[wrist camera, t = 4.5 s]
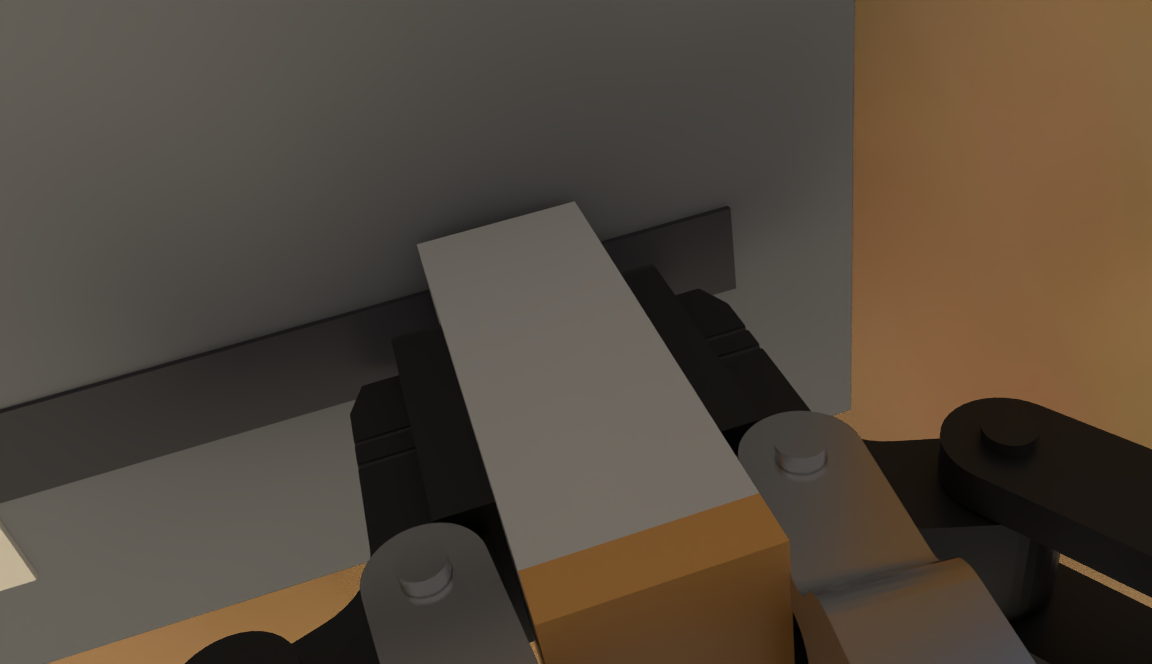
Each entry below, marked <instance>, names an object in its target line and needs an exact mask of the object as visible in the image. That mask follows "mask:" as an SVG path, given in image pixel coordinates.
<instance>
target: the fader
mask: <svg viewBox="0 0 1152 664" xmlns="http://www.w3.org/2000/svg"><path fill="white" fill-rule="evenodd" d="M417 247H418V251H419V254H420V258H421V261H422V265H423V268H424V272H425V275H426V279H427V283H428V286H429V290H430V293H431V297H432V300H433V304H434V307H435V311H436V314H437V318H438V321H439V324H441V327H442V331H443V334H444V337H445V340H446V344H447V347H448V350H449V353H450V357H451V360H452V363H453V366H454V369H455V373H456V376H457V379H458V382H459V386H460V389H461V392H462V395H463V399H464V402H465V405H466V408H467V412H468V415H469V418H470V421H471V425H472V428H473V431H474V434H475V438H476V441H477V444H478V447H479V450H480V454H481V457H482V460H483V463H484V467H485V470H486V473H487V476H488V480H489V483H490V486H491V489H492V493H493V496H494V499H495V502H496V506H497V509H498V513H499V517H500V520H501V524H502V527H503V531H504V534H505V538H506V542H507V545H508V549H509V552H510V556H511V559H512V563H513V567H514V570H515V574H516V577H517V581H518V584H519V588H520V591H521V595H522V599H523V602H524V606H525V609H526V613H527V616H528V620H529V624H530V627H531V631H532V634H533V638H534V643H535V647H536V650H537V653H538V657H539V660H540V663H541V664H795V659H794V635H793V611H792V608H791V594H790V573H791V562H790V541H789V539H788V537H787V536H786V534H785V533H784V531H783V530H782V528H781V526H780V525H779V523H778V522H777V520H776V518H775V517H774V515H773V514H772V512H771V511H770V509H769V507H768V506H767V504H766V503H765V501H764V499H763V498H762V496H761V495H760V493H759V492H758V490H757V488H756V487H755V485H754V484H753V482H752V481H751V479H750V477H749V476H748V474H747V473H746V471H745V469H744V468H743V466H742V465H741V463H740V462H739V460H738V458H737V457H736V455H735V454H734V452H733V451H732V449H731V447H730V446H729V444H728V443H727V441H726V439H725V438H724V436H723V435H722V433H721V432H720V430H719V428H718V427H717V425H716V424H715V422H714V421H713V419H712V417H711V416H710V414H709V413H708V411H707V409H706V408H705V406H704V405H703V403H702V402H701V400H700V398H699V397H698V395H697V394H696V392H695V391H694V389H693V387H692V386H691V384H690V383H689V381H688V379H687V378H686V376H685V375H684V373H683V372H682V370H681V368H680V367H679V365H678V364H677V362H676V361H675V359H674V357H673V356H672V354H671V353H670V351H669V349H668V348H667V346H666V345H665V343H664V342H663V340H662V338H661V337H660V335H659V334H658V332H657V331H656V329H655V327H654V326H653V324H652V323H651V321H650V319H649V318H648V316H647V315H646V313H645V312H644V310H643V308H642V307H641V305H640V304H639V302H638V300H637V299H636V297H635V296H634V294H633V293H632V291H631V289H630V288H629V286H628V285H627V283H626V282H625V280H624V278H623V277H622V275H621V274H620V272H619V270H618V269H617V267H616V266H615V264H614V263H613V261H612V259H611V258H610V256H609V255H608V253H607V252H606V250H605V248H604V247H603V245H602V244H601V242H600V240H599V239H598V237H597V236H596V234H595V233H594V231H593V229H592V228H591V226H590V225H589V223H588V222H587V220H586V218H585V217H584V215H583V214H582V212H581V210H580V209H579V207H578V206H577V204H576V203H575V201H574V202H570V203H566V204H563V205H559V206H555V207H552V208H548V209H544V210H541V211H537V212H534V213H530V214H526V215H523V216H519V217H515V218H512V219H508V220H504V221H501V222H497V223H493V224H490V225H486V226H482V227H479V228H475V229H471V230H468V231H464V232H460V233H457V234H453V235H449V236H446V237H442V238H438V239H435V240H431V241H427V242H424V243H420V244H417Z"/></svg>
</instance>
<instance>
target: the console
mask: <svg viewBox="0 0 1152 664" xmlns="http://www.w3.org/2000/svg"><path fill="white" fill-rule="evenodd" d="M854 9H855V0H0V664H46V663H49V662H53V661H56V660H59V659H62V658H65V657H68V656H72V655H75V654H78V653H81V652H84V651H87V650H91V649H94V648H97V647H100V646H103V645H106V644H110V643H113V642H116V641H119V640H122V639H125V638H129V637H132V636H135V635H138V634H141V633H144V632H148V631H151V630H154V629H157V628H160V627H163V626H167V625H170V624H173V623H176V622H179V621H183V620H186V619H189V618H192V617H195V616H198V615H202V614H205V613H208V612H211V611H214V610H217V609H221V608H224V607H227V606H230V605H233V604H236V603H240V602H243V601H246V600H249V599H252V598H255V597H259V596H262V595H265V594H268V593H271V592H274V591H278V590H281V589H284V588H287V587H290V586H293V585H297V584H300V583H303V582H306V581H309V580H312V579H316V578H319V577H322V576H325V575H328V574H332V573H335V572H338V571H341V570H344V569H347V568H351V567H354V566H357V565H360V564H363V563H366V562H368V561H369V559H370V546H369V540H368V533H367V526H366V520H365V513H364V506H363V500H362V493H361V486H360V479H359V473H358V470H359V468H358V465H357V459H356V453H355V444H354V439H353V432H352V426H351V419H350V413H351V410H352V408H353V406H354V403H355V401H356V399H357V396H358V394H359V392H360V389H361V387H362V386H363V385H366V384H370V383H373V382H377V381H380V380H384V379H387V378H391V377H394V376H397V375H399V373H398V368H397V364H396V359H395V355H394V351H393V346H392V342H391V338H393V337H397V336H400V335H404V334H407V333H411V332H414V331H418V330H421V329H425V328H428V327H432V326H435V325H439V321H438V318H437V314H436V311H435V307H434V304H433V300H432V297H431V293H430V290H429V286H428V283H427V279H426V275H425V272H424V268H423V265H422V261H421V258H420V254H419V251H418V247H417V244H420V243H424V242H427V241H431V240H435V239H438V238H442V237H446V236H449V235H453V234H457V233H460V232H464V231H468V230H471V229H475V228H479V227H482V226H486V225H490V224H493V223H497V222H501V221H504V220H508V219H512V218H515V217H519V216H523V215H526V214H530V213H534V212H537V211H541V210H544V209H548V208H552V207H555V206H559V205H563V204H566V203H570V202H574V201H575V203H576V204H577V206H578V207H579V209H580V210H581V212H582V214H583V215H584V217H585V218H586V220H587V222H588V223H589V225H590V226H591V228H592V229H593V231H594V233H595V234H596V236H597V237H598V239H599V240H600V242H601V244H602V245H603V247H604V248H605V250H606V252H607V253H608V255H609V256H610V258H611V259H612V261H613V263H614V264H615V266H616V267H617V269H618V270H619V272H620V273H622V272H626V271H629V270H633V269H636V268H640V267H643V266H647V265H650V264H652V265H654V266H655V267H656V268H657V270H658V271H659V273H660V274H661V276H662V277H663V278H664V280H665V281H666V283H667V284H668V286H669V287H670V288H671V290H672V291H673V293H674V294H675V295H678V294H681V293H684V292H688V291H691V290H695V289H698V288H699V289H701V290H703V291H705V292H707V293H709V294H711V295H713V296H715V297H717V298H719V299H721V300H722V301H724V302H726V303H728V304H729V305H730V306H731V308H732V309H733V310H734V312H735V313H736V314H737V316H738V317H739V318H740V319H741V321H742V322H743V323H744V325H745V327H746V330H749V331H750V332H751V334H752V335H753V336H754V338H755V339H756V340H757V341H758V343H759V346H760V348H763V349H764V351H765V352H766V353H767V354H768V356H769V357H770V358H771V360H772V361H773V362H774V363H775V365H776V366H777V367H778V369H779V370H780V371H781V373H782V374H783V375H784V376H785V378H786V379H787V380H788V382H789V383H790V384H791V386H792V387H793V388H794V389H795V391H796V392H797V393H798V395H799V396H800V397H801V398H802V400H803V401H804V402H805V404H806V405H807V406H808V408H809V409H810V410H811V411H812V412H818V413H823V414H827V415H830V416H832V415H836V414H839V413H842V412H845V411H848V410H851V325H852V219H853V114H854Z"/></svg>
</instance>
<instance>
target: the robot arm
mask: <svg viewBox="0 0 1152 664" xmlns="http://www.w3.org/2000/svg"><path fill="white" fill-rule="evenodd" d="M620 274H621V275H622V277H623V278H624V280H625V282H626V283H627V285H628V286H629V288H630V289H631V291H632V293H633V294H634V296H635V297H636V299H637V300H638V302H639V304H640V305H641V307H642V308H643V310H644V312H645V313H646V315H647V316H648V318H649V319H650V321H651V323H652V324H653V326H654V327H655V329H656V331H657V332H658V334H659V335H660V337H661V338H662V340H663V342H664V343H665V345H666V346H667V348H668V349H669V351H670V353H671V354H672V356H673V357H674V359H675V361H676V362H677V364H678V365H679V367H680V368H681V370H682V372H683V373H684V375H685V376H686V378H687V379H688V381H689V383H690V384H691V386H692V387H693V389H694V391H695V392H696V394H697V395H698V397H699V398H700V400H701V402H702V403H703V405H704V406H705V408H706V409H707V411H708V413H709V414H710V416H711V417H712V419H713V421H714V422H715V424H716V425H717V427H718V428H719V430H720V432H721V433H722V435H723V436H724V438H725V439H726V441H727V443H728V444H729V446H730V447H731V449H732V451H733V452H734V454H735V455H736V457H737V458H738V460H739V462H740V463H741V465H742V466H743V468H744V469H745V471H746V473H747V474H748V476H749V477H750V479H751V481H752V482H753V484H754V485H755V487H756V488H757V490H758V492H759V493H760V495H761V496H762V498H763V499H764V501H765V503H766V504H767V506H768V507H769V509H770V511H771V512H772V514H773V515H774V517H775V518H776V520H777V522H778V523H779V525H780V526H781V528H782V530H783V531H784V533H785V534H786V536H787V537H788V539H789V541H790V562H791V573H790V594H791V608H792V611H793V635H794V659H795V664H1152V608H1150V607H1148V606H1146V605H1144V604H1142V603H1140V602H1138V601H1136V600H1134V599H1132V598H1130V597H1128V596H1126V595H1124V594H1122V593H1120V592H1118V591H1116V590H1113V589H1111V588H1109V587H1107V586H1105V585H1103V584H1101V583H1099V582H1097V581H1095V580H1093V579H1091V578H1089V577H1087V576H1085V575H1083V574H1081V573H1079V572H1077V571H1075V570H1073V569H1071V568H1069V567H1067V566H1065V565H1063V564H1061V563H1059V558H1060V553H1061V554H1063V555H1065V556H1067V557H1069V558H1071V559H1073V560H1075V561H1077V562H1079V563H1081V564H1083V565H1086V566H1088V567H1090V568H1092V569H1094V570H1096V571H1098V572H1100V573H1102V574H1104V575H1106V576H1108V577H1110V578H1112V579H1114V580H1116V581H1119V582H1121V583H1123V584H1125V585H1127V586H1129V587H1131V588H1133V589H1135V590H1137V591H1139V592H1141V593H1143V594H1145V595H1147V596H1150V597H1151V598H1152V449H1149V448H1147V447H1144V446H1142V445H1139V444H1137V443H1134V442H1132V441H1129V440H1126V439H1124V438H1121V437H1119V436H1116V435H1114V434H1111V433H1109V432H1106V431H1104V430H1101V429H1098V428H1096V427H1093V426H1091V425H1088V424H1086V423H1083V422H1081V421H1078V420H1076V419H1073V418H1071V417H1068V416H1065V415H1063V414H1060V413H1058V412H1055V411H1053V410H1050V409H1048V408H1045V407H1043V406H1040V405H1037V404H1034V403H1031V402H1028V401H1023V400H1019V399H1011V398H986V399H980V400H975V401H972V402H969V403H966V404H963V405H962V406H960V407H958V408H956V409H955V410H953V411H952V412H951V413H950V414H949V415H948V416H947V417H946V419H945V420H944V422H943V424H942V426H941V432H940V439H924V440H908V441H882V442H881V441H869V440H864V439H861V437H860V436H859V435H858V434H857V432H856V431H855V430H854V429H853V428H852V427H850V426H849V425H848V424H846V423H845V422H843V421H841V420H839V419H837V418H835V417H833V416H830V415H827V414H823V413H818V412H812V411H811V410H810V409H809V408H808V406H807V405H806V404H805V402H804V401H803V400H802V398H801V397H800V396H799V395H798V393H797V392H796V391H795V389H794V388H793V387H792V386H791V384H790V383H789V382H788V380H787V379H786V378H785V376H784V375H783V374H782V373H781V371H780V370H779V369H778V367H777V366H776V365H775V363H774V362H773V361H772V360H771V358H770V357H769V356H768V354H767V353H766V352H765V351H764V349H763V348H760V346H759V343H758V341H757V340H756V339H755V338H754V336H753V335H752V334H751V332H750V331H749V330H746V327H745V325H744V323H743V322H742V321H741V319H740V318H739V317H738V316H737V314H736V313H735V312H734V310H733V309H732V308H731V306H730V305H729V304H728V303H726V302H724V301H722V300H721V299H719V298H717V297H715V296H713V295H711V294H709V293H707V292H705V291H703V290H701V289H699V288H698V289H695V290H691V291H688V292H684V293H681V294H678V295H675V294H674V293H673V291H672V290H671V288H670V287H669V286H668V284H667V283H666V281H665V280H664V278H663V277H662V276H661V274H660V273H659V271H658V270H657V268H656V267H655V266H654V265H652V264H650V265H647V266H643V267H640V268H636V269H633V270H629V271H626V272H622V273H620ZM391 342H392V346H393V351H394V355H395V359H396V364H397V368H398V373H399V375H397V376H394V377H391V378H387V379H384V380H380V381H377V382H373V383H370V384H366V385H363V386H362V387H361V389H360V392H359V394H358V396H357V399H356V401H355V403H354V406H353V408H352V410H351V413H350V419H351V426H352V432H353V439H354V444H355V453H356V459H357V465H358V468H359V470H358V473H359V479H360V486H361V493H362V500H363V506H364V513H365V520H366V526H367V533H368V540H369V546H370V559H369V561H368V562H367V564H366V566H365V568H364V570H363V573H362V577H361V581H360V590H359V591H358V593H357V594H356V596H355V597H354V598H353V599H352V601H351V602H350V603H349V604H348V605H347V606H346V607H345V608H344V609H343V610H342V611H340V612H339V613H338V614H337V615H336V616H335V617H333V618H332V619H330V620H329V621H327V622H326V623H325V624H323V625H321V626H320V627H318V628H317V629H315V630H313V631H312V632H310V633H308V634H307V635H305V636H304V637H302V638H300V639H299V640H297V641H296V642H294V643H292V644H291V643H290V642H289V641H287V640H286V639H284V638H283V637H281V636H279V635H276V634H274V633H269V632H264V631H250V632H243V633H238V634H234V635H231V636H228V637H225V638H223V639H220V640H218V641H216V642H214V643H212V644H210V645H209V646H207V647H205V648H204V649H202V650H201V651H199V652H198V653H197V654H195V655H194V656H193V657H192V658H191V659H189V660H188V661H187V662H186V663H185V664H538V662H537V659H536V657H535V655H534V653H533V650H532V648H531V646H530V644H529V643H530V642H533V641H534V638H533V634H532V631H531V627H530V624H529V620H528V616H527V613H526V609H525V606H524V602H523V599H522V595H521V591H520V588H519V584H518V581H517V577H516V574H515V570H514V567H513V563H512V559H511V556H510V552H509V549H508V545H507V542H506V538H505V534H504V531H503V527H502V524H501V520H500V517H499V513H498V509H497V506H496V502H495V499H494V496H493V493H492V489H491V486H490V483H489V480H488V476H487V473H486V470H485V467H484V463H483V460H482V457H481V454H480V450H479V447H478V444H477V441H476V438H475V434H474V431H473V428H472V425H471V421H470V418H469V415H468V412H467V408H466V405H465V402H464V399H463V395H462V392H461V389H460V386H459V382H458V379H457V376H456V373H455V369H454V366H453V363H452V360H451V357H450V353H449V350H448V347H447V344H446V340H445V337H444V334H443V331H442V327H441V324H439V325H435V326H432V327H428V328H425V329H421V330H418V331H414V332H411V333H407V334H404V335H400V336H397V337H393V338H391Z"/></svg>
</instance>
